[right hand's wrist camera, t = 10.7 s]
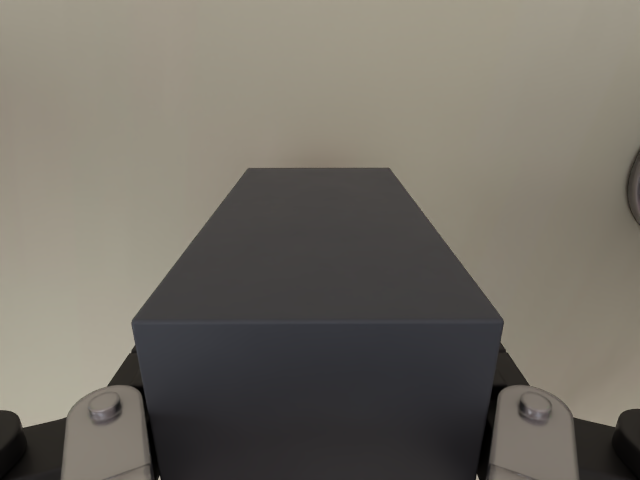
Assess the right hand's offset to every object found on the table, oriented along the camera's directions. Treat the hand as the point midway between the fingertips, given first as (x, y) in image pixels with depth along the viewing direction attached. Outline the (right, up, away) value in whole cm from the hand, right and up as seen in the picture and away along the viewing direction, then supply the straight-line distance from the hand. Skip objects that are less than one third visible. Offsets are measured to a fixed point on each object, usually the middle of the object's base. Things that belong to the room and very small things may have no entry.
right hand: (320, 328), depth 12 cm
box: (0, -6, +11) cm, 12 cm away
